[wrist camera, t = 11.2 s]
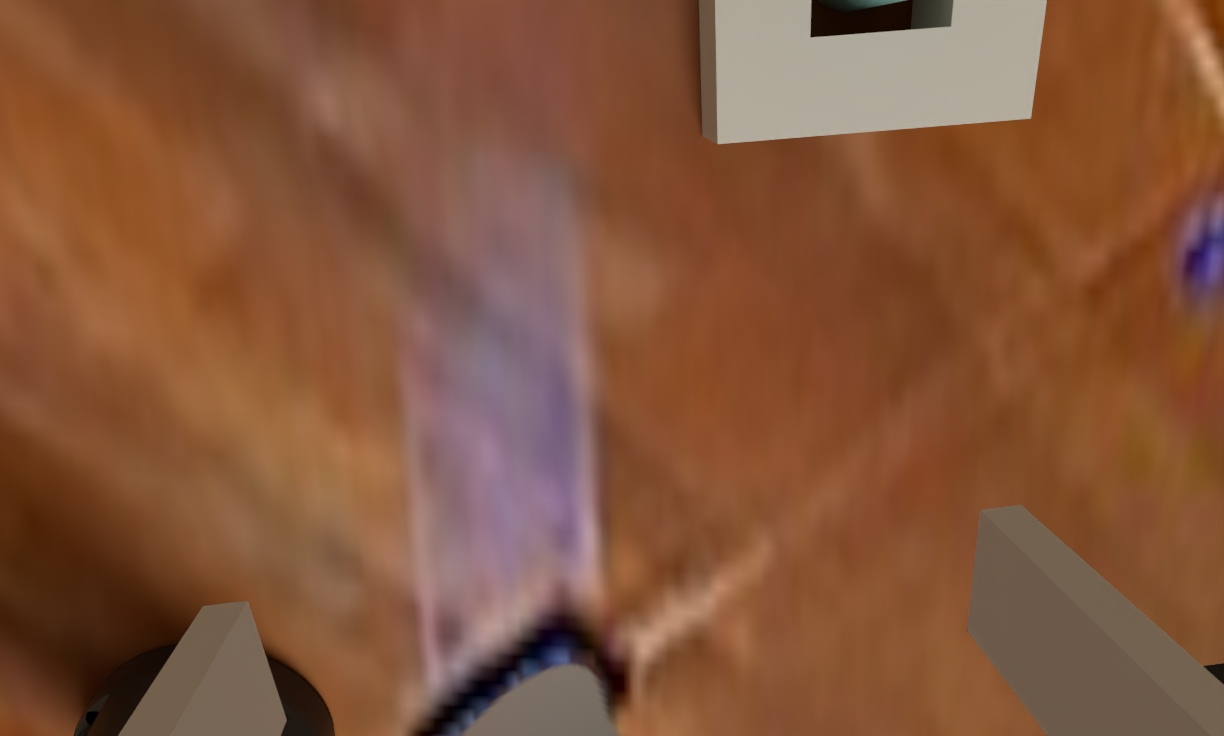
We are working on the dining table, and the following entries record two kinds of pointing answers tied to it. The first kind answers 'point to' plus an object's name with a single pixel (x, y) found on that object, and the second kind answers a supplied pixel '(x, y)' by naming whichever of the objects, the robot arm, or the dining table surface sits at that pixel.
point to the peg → (854, 4)
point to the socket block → (864, 69)
